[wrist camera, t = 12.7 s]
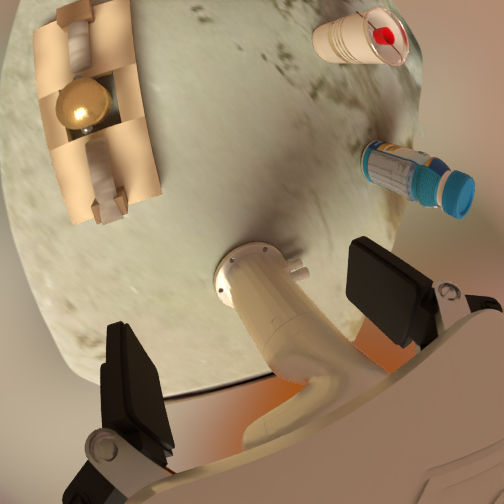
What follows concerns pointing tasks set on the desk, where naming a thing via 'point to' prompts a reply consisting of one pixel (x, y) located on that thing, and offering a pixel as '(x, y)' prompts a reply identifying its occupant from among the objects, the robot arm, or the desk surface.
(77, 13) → the shaft jig
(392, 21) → the striped cup with float
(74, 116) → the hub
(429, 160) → the blue supplement bottle
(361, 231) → the desk surface
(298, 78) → the desk surface
